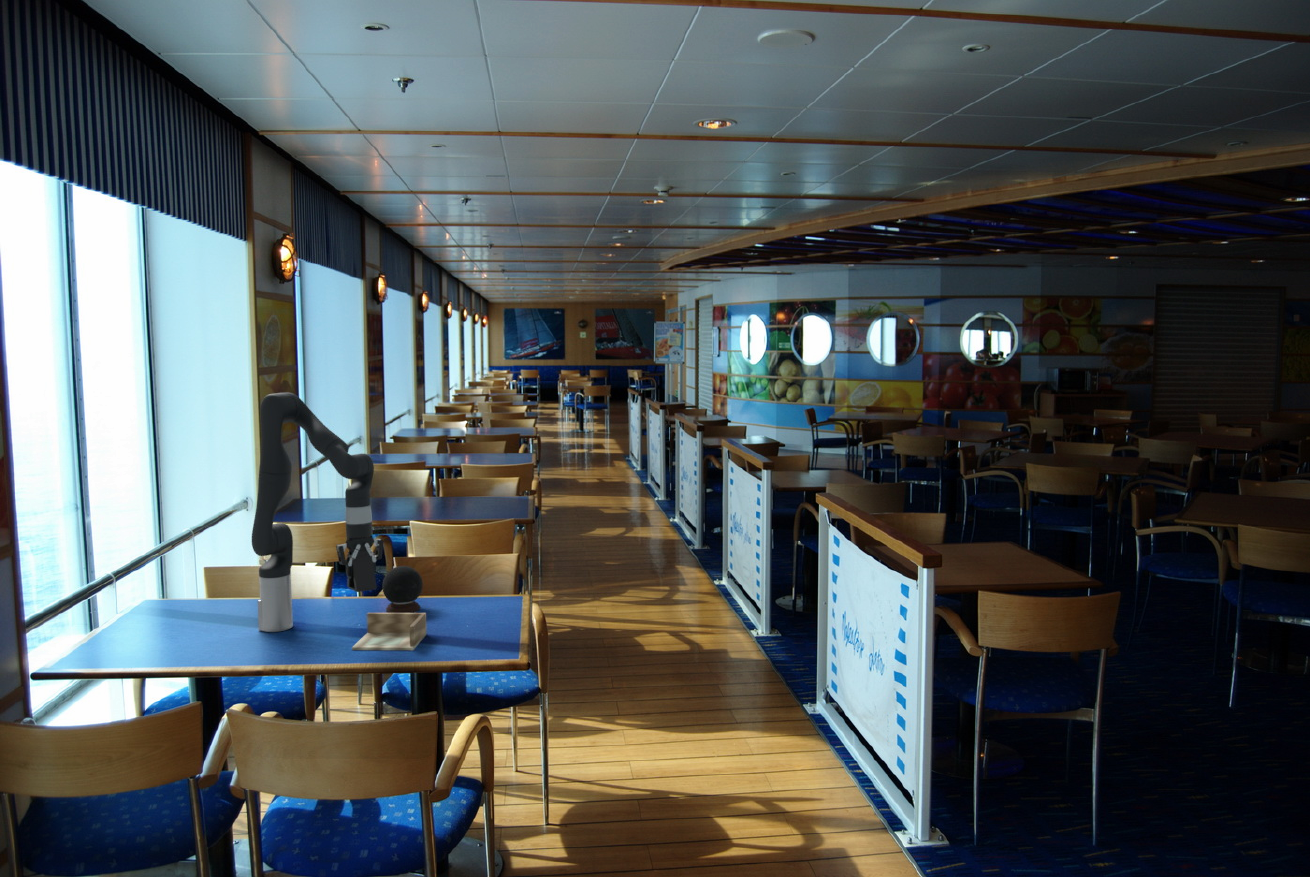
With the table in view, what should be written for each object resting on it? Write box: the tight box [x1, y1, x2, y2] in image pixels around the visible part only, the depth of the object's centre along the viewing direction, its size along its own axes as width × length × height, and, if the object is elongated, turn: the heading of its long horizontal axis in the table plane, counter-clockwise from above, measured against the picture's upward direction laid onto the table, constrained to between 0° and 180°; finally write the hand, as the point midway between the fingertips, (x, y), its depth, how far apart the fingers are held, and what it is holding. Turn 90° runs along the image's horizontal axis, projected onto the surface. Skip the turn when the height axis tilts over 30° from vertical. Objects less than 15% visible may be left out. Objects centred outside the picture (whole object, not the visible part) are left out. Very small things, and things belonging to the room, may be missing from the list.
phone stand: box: [346, 550, 378, 593], centre depth 271 cm, size 9×6×12 cm, turn 36°
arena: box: [351, 612, 428, 651], centre depth 273 cm, size 18×15×7 cm
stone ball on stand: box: [381, 565, 424, 613], centre depth 306 cm, size 13×13×15 cm
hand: (361, 575), depth 271 cm, fingers closed on phone stand, 6 cm apart
